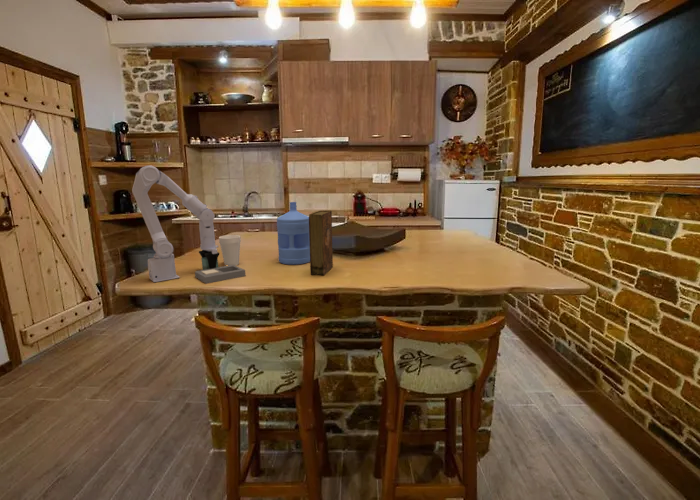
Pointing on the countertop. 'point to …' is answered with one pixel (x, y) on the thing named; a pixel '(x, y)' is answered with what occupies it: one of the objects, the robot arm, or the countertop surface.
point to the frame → (219, 273)
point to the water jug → (293, 237)
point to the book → (320, 242)
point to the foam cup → (230, 249)
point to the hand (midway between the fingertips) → (210, 267)
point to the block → (205, 263)
